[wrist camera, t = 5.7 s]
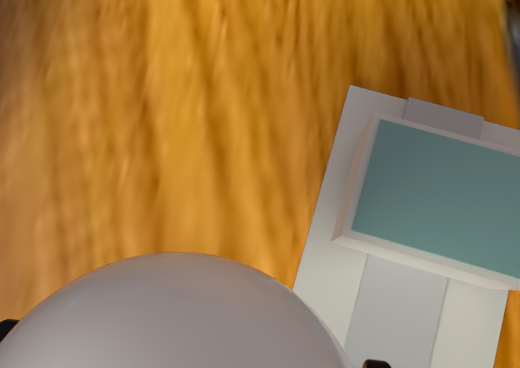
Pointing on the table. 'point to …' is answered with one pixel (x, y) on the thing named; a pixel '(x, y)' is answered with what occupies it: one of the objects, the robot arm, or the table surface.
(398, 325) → the module rail
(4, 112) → the table surface
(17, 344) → the lightbulb
